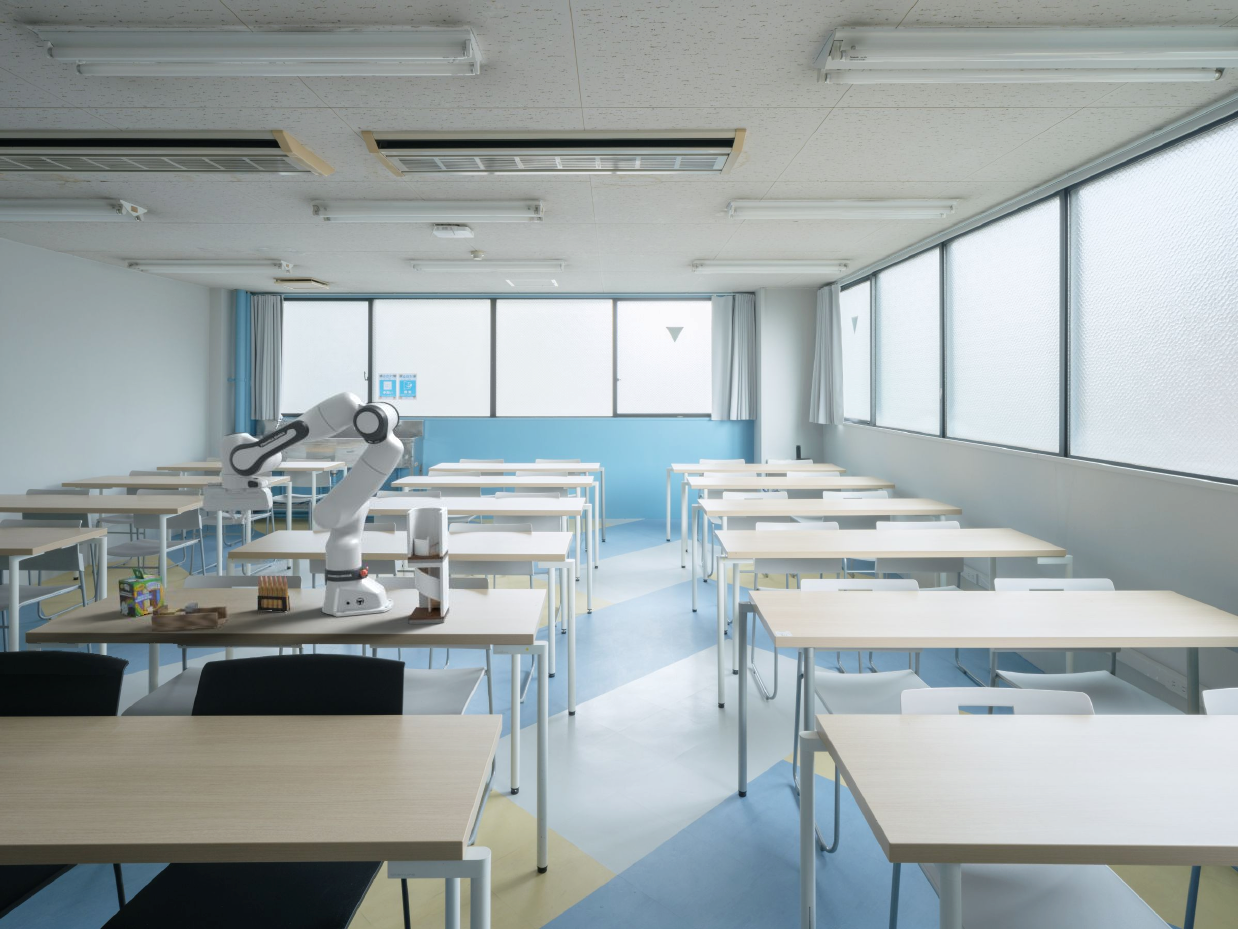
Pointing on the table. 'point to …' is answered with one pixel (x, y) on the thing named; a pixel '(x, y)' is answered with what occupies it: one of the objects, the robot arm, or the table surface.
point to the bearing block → (188, 618)
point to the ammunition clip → (273, 594)
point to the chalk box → (140, 594)
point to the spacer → (170, 611)
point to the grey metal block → (190, 609)
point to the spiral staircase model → (429, 562)
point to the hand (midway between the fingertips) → (238, 524)
